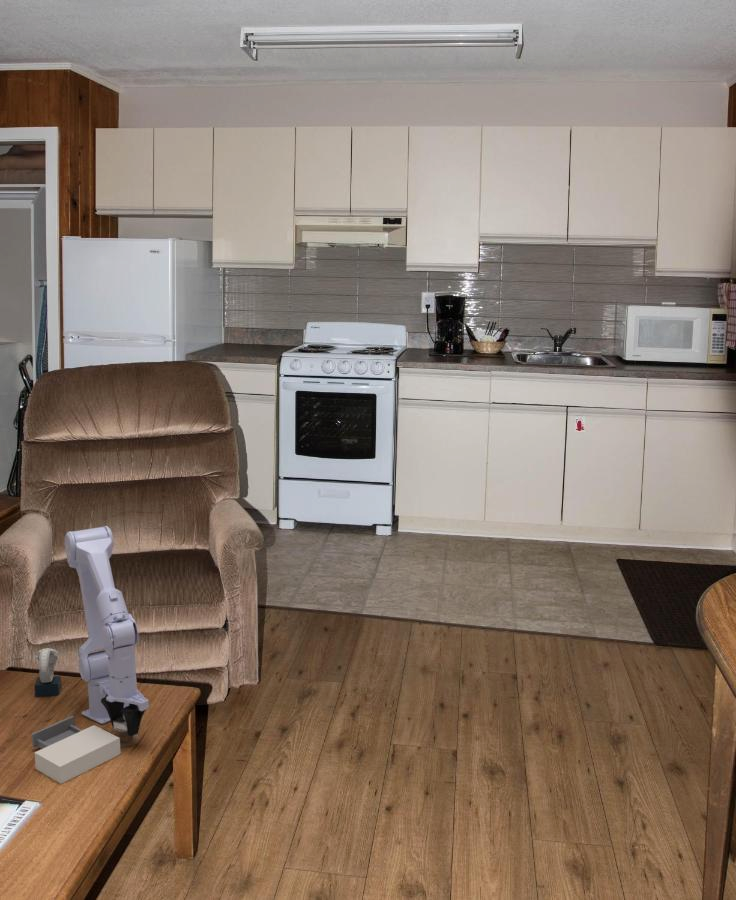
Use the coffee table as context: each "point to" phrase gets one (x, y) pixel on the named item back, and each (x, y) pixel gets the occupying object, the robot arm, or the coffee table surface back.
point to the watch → (47, 674)
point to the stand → (127, 739)
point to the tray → (54, 733)
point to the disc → (120, 724)
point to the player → (77, 754)
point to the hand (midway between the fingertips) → (125, 730)
